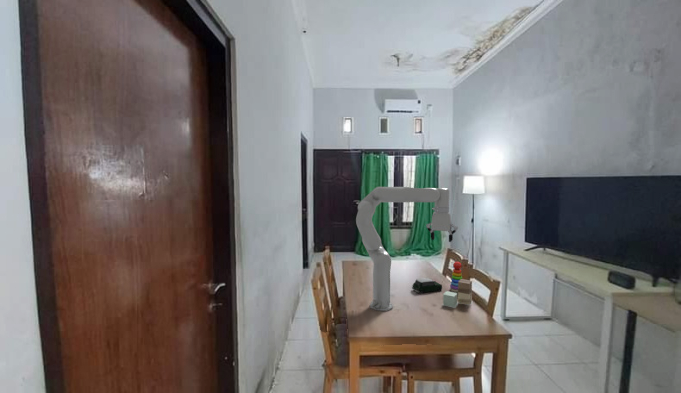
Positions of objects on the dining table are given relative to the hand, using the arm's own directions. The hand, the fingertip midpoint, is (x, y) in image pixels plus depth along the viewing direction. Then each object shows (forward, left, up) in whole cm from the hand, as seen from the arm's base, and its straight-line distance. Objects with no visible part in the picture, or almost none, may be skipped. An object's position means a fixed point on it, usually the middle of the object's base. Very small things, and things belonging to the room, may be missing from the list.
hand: (441, 240), depth 171 cm
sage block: (+1, -5, -36) cm, 36 cm away
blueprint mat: (+5, -10, -36) cm, 38 cm away
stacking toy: (+26, -2, -36) cm, 45 cm away
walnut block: (+9, -11, -30) cm, 33 cm away
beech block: (+9, -11, -36) cm, 38 cm away
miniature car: (+16, +13, -37) cm, 42 cm away
